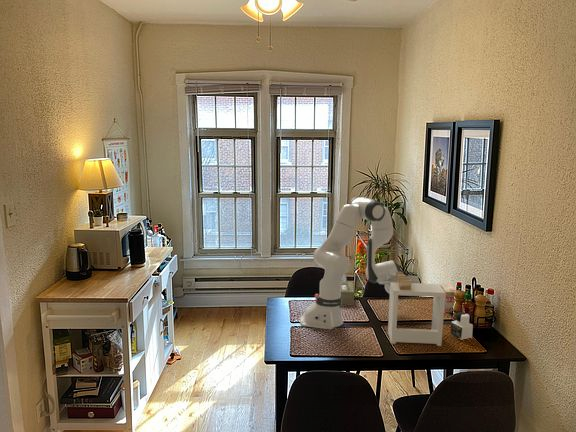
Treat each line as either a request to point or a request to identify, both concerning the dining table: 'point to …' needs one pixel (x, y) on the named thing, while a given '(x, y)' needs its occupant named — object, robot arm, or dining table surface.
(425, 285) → the white stand
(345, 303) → the tissue box
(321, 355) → the dining table surface
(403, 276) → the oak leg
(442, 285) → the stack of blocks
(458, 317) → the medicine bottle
